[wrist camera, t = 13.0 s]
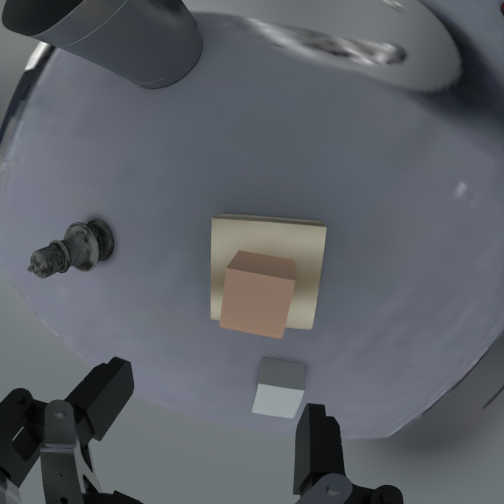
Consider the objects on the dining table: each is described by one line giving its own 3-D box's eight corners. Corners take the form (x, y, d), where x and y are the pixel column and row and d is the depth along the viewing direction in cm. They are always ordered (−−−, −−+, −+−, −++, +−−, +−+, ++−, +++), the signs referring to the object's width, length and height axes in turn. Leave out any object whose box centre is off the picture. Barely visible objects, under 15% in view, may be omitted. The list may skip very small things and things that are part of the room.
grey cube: (263, 356, 31) (258, 383, 27) (303, 363, 31) (304, 390, 26) (256, 385, 33) (251, 412, 28) (294, 391, 32) (293, 418, 28)
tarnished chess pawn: (90, 208, 29) (16, 226, 18) (122, 234, 30) (50, 264, 18) (77, 246, 31) (10, 274, 19) (106, 272, 31) (42, 311, 20)
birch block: (222, 212, 28) (211, 218, 24) (321, 220, 27) (326, 227, 23) (220, 302, 31) (210, 319, 27) (309, 310, 29) (312, 329, 26)
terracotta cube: (238, 250, 24) (226, 267, 20) (294, 260, 24) (295, 280, 19) (231, 300, 26) (219, 326, 21) (283, 310, 25) (281, 339, 21)
